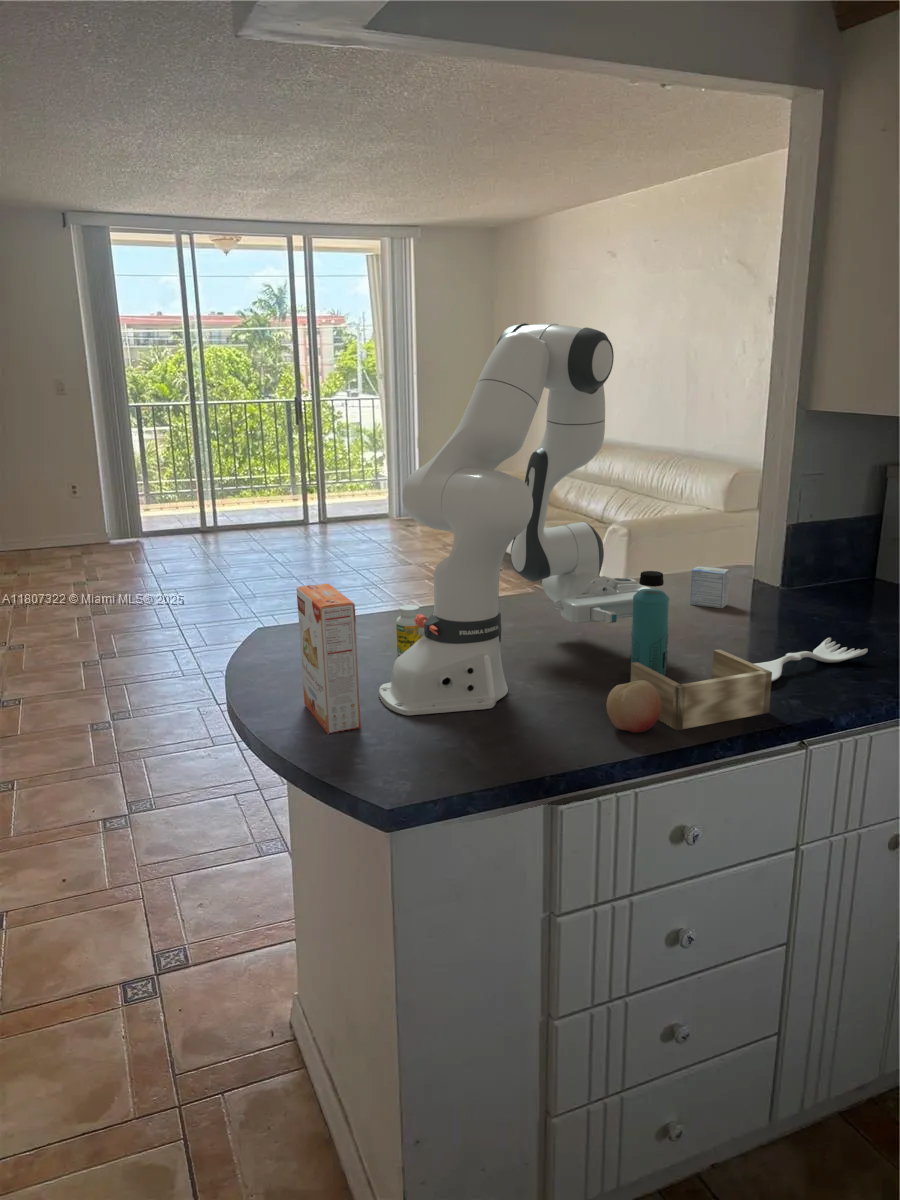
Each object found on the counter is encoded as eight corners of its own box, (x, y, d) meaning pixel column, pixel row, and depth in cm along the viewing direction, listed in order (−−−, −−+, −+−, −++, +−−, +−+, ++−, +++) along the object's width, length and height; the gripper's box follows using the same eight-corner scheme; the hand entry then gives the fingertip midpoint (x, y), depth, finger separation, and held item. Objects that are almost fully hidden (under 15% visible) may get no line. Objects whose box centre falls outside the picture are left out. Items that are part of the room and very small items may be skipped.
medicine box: (727, 604, 207) (730, 569, 205) (722, 609, 204) (725, 572, 202) (694, 600, 211) (696, 565, 209) (689, 604, 208) (691, 569, 206)
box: (676, 730, 136) (678, 688, 134) (629, 702, 148) (631, 662, 146) (768, 712, 142) (772, 672, 141) (716, 687, 154) (719, 649, 152)
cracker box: (301, 705, 148) (294, 585, 143) (336, 700, 150) (330, 581, 145) (324, 736, 136) (318, 605, 130) (362, 729, 138) (356, 601, 133)
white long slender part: (868, 664, 166) (870, 647, 165) (746, 695, 151) (748, 676, 150) (827, 651, 173) (829, 635, 172) (708, 680, 158) (709, 662, 158)
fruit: (627, 715, 142) (629, 669, 140) (669, 730, 136) (672, 681, 134) (596, 729, 137) (597, 681, 135) (637, 744, 131) (640, 694, 129)
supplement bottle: (428, 651, 176) (427, 605, 173) (417, 659, 171) (416, 611, 169) (404, 648, 178) (403, 602, 176) (392, 656, 173) (391, 609, 171)
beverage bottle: (666, 687, 154) (672, 577, 149) (628, 685, 156) (633, 575, 150) (665, 675, 160) (671, 568, 155) (628, 673, 162) (633, 567, 157)
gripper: (548, 587, 167) (586, 604, 155) (639, 577, 175) (682, 593, 162) (548, 619, 169) (585, 639, 156) (638, 608, 176) (680, 625, 164)
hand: (635, 615), depth 159 cm, fingers open, 8 cm apart
